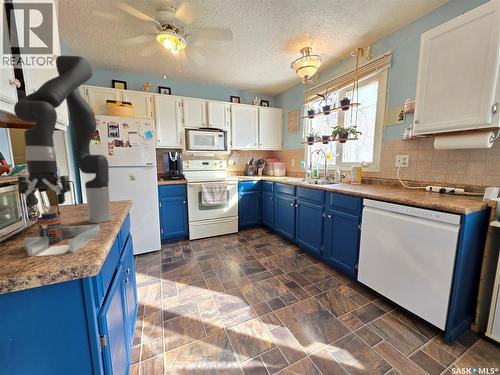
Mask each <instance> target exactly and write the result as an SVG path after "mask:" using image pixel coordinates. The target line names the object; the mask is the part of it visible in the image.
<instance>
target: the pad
mask: <svg viewBox="0 0 500 375" xmlns="http://www.w3.org/2000/svg"><path fill="white" fill-rule="evenodd" d="M68 252H69V244H64V245H63V244H62V245H52V246H51V247H50V246H49V247H48V248H47V249H45V250H43V251H41V252H39V253H38V254H36V255H35V257H46V256H47V257H48V256H59V255H60V256H61V255H65V254H66V253H68Z"/></svg>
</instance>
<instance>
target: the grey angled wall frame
mask: <svg viewBox="0 0 500 375" xmlns="http://www.w3.org/2000/svg"><path fill="white" fill-rule="evenodd" d="M100 227H101V226H100V224H90V225H89V224H86V225H85V224H84V225H72V226H71V225H70V226H61V228H62V238H71V239H70V240H67V242H68V244H67V245H69V251H68V252H69V253H70V254H71V253H75V252H77V251H78V250H80V249H81V248H82V247H84V246H85V245H86V244H89V242H91V241H93V239H95V238H97V237H98V236H99V235H101V228H100ZM23 243H24V248H25V251H27V255H28V257H34V256H36V255H38V254H40V253H41V252H43V251H45V250H47V249H49V248H50V245H49V244H48V236H44V237H40V236H33V237H32V236H31V237H24V238H23Z"/></svg>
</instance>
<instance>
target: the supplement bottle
mask: <svg viewBox="0 0 500 375" xmlns="http://www.w3.org/2000/svg"><path fill="white" fill-rule="evenodd" d="M40 215H41V216H40V217H41V219H39V220H38V232H39V237H44V236H48V244H49V246H50V245H54V244H55V245H56V244H58V243H60V242H62V241H63V237H62V228H61V227H62V222H61V221H62V220H61V217H58V216H57V211H46V212H42V213H41V214H40Z"/></svg>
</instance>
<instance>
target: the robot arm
mask: <svg viewBox="0 0 500 375" xmlns="http://www.w3.org/2000/svg"><path fill="white" fill-rule="evenodd" d="M55 66H56V70H57V74H58V76H54V77H53V78H51V79H48V80H47V81H46V82H44V83H43V84H42V85H40V87H39V88H38V89H37V90H36V91H33V92H32V93H30V94H28V95H26V96H23V97H22V98H20V99H19V100H18V101H17V102H16V103H15V104H14V107H13V112H14V114H15V116H16V117H17V118H18V119H19V120H20V121H23V122H24V123H25V122H26V123H35V125H34V127H31V128H28V129H26V130H24V132H23V133H24V134H23V135H24V142H25V159H26V167H27V173H28V176H25V175H22V176H18V177H17V186H18V194H22V195H26V200H27V202H26V203H27V204H28V205H29V206H31V207H32V206H35V205H37V195H36V194H35V193H36V192H37V191H38V190H39V189H49V188H50V189H51V190H52V191H54V192H55V193H56V199H57V200H56V201H57V204H58V205H63V204H64V203H65V202H66V195H65V194H66V193H68V192H71V184H70V180H69V176H68V175H61V176H59V175H58V165H57V164H58V162H57V153H56V150H55V145H54V132H55V128H56V126H57V119H58V113H57V111H56V109H57V108H59V107H61V104H63V102H64V101H65V100H66V105H67V109H68V115H69V120H70V124H71V127H72V131H73V136H74V140H75V148H76V159H77V165H78V168H79V170H80V172H82V173H83V174H87V175H88V174H91V175H93V174H95V177H94V178H93V179H90V180H88V181H85V183H84V187H85V188H84V189H85V194H86V195H85V197H86V204H87V206H86V207H87V214H88V215H87V216H88V222H89V224H100V223H101V224H102V223H106V222H109V221H111V220H112V212H111V209H112V208H111V200H110V190H109V180H110V174H109V173H110V172H109V171H110V170H109V162H108V159H107V158H108V157H106V156H105V155H103V154H91V152H90V151H91V150H90V144H91V141H92V139H93V137H94V135H95V134H96V131H97V128H98V126H97V125H98V124H97V120H96V114H95V112H94V109H92V107H91V106H90V105H89V103H88V102H87V100H85V98H84V97H83V96H82V95H81V93H80V92H79V87H81V86H82V85H84V83H86V82H88V81H89V80H90V79H91V78H92V76H93V69H92V66H91V64H90V62H89V61H88V59H86V58H84V57H82V56H78V55H58V56H57V57H56V59H55ZM58 181H59V182H60V183H58ZM29 183H30V184H29Z"/></svg>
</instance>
